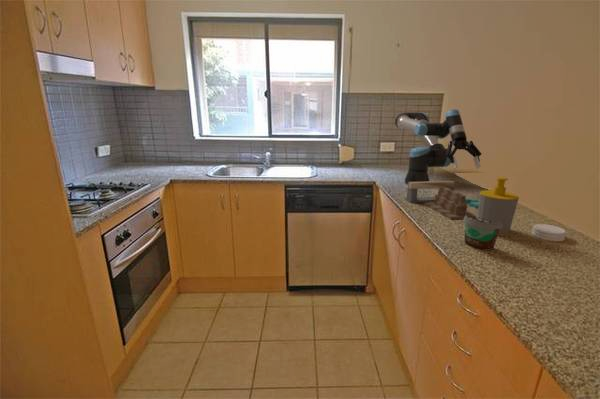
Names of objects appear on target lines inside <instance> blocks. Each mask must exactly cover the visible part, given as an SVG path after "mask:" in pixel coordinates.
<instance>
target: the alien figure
mask: <svg viewBox="0 0 600 399" xmlns="http://www.w3.org/2000/svg"><path fill="white" fill-rule="evenodd" d="M465 204H468V206H469V207H471V208H473V207H474V209H478V204H479V199H475V198H474V199H473V198H472V199H471V198H467V197H465Z"/></svg>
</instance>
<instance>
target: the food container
mask: <svg viewBox="0 0 600 399" xmlns="http://www.w3.org/2000/svg"><path fill="white" fill-rule="evenodd" d="M462 221H463V222H464V244H465V245H467V246H468V247H471V248H473V249H478V250H484V251H485V250H491V249H494V248H495V245H496V241H497V238H498V236H499V235H498V233H499V230H500V229H501V228H503V224H502V222H500V223H494V222H490V221H488V220H485V219H478V218H477V217H476V218H472V217H467V214H466V215H465V217H464V219H462Z"/></svg>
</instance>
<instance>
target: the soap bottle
mask: <svg viewBox="0 0 600 399" xmlns="http://www.w3.org/2000/svg"><path fill="white" fill-rule="evenodd" d="M495 180H497V183H496V184H497V185H495V186H494V188H493V189H491V190H489V189H487V190H481V191H480V192H479V196H478V200H479V204H478V208H477V215H476V218H478V219H485V220H488V221H490V222H494V223H500V222H502V224H503V228H501V229H500V230H499V233H498V236H505V235H509V233H510V231H511V227H512V223H513V220H514V216H515V212H516V209H517V205H518V202H519V199H520V196H519V195H518V194H515V193H513V192H508V191H506V190H507V187H506V186H505V184H506V183H505V182H506V181H508V180H509V179H508V178H506V177H503V176H502V177H501V176H499V177H495Z"/></svg>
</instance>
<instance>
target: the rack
mask: <svg viewBox="0 0 600 399" xmlns="http://www.w3.org/2000/svg"><path fill="white" fill-rule="evenodd" d="M449 189H451V190H453V191H455V187H454V188H449ZM418 190H419V189H409V188H408V187H407V191H406V197H405V198H404V200H405V201H407V202H408V203H410V204H411V203H412V204H413V203H414V204H415V203H417V204H418V203H425V202H434V200H435V196H419V197H418Z"/></svg>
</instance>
